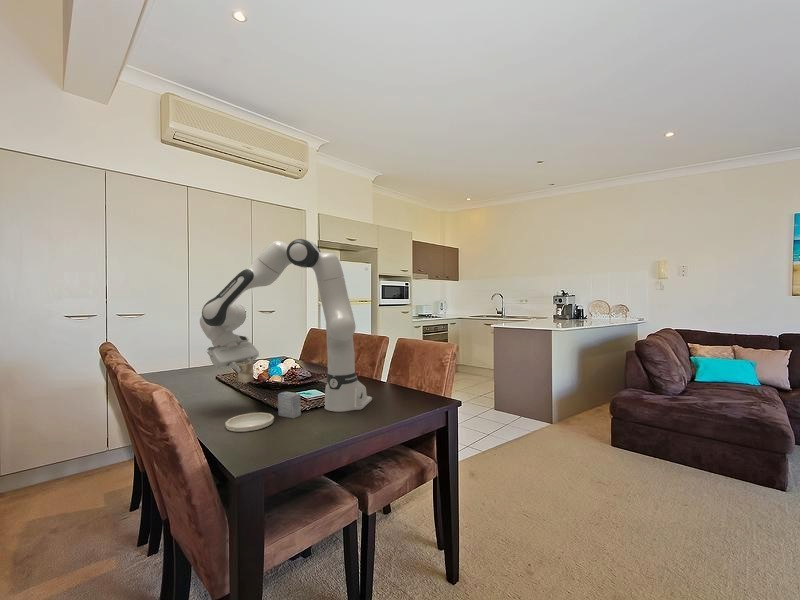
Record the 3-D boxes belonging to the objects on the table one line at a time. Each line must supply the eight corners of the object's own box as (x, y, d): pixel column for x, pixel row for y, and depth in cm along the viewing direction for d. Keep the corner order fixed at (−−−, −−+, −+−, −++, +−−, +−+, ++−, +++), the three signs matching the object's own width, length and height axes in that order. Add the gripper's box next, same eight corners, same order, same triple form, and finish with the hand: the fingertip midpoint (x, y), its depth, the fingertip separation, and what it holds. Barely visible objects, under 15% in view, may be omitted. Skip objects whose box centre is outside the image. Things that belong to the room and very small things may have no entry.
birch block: (246, 379, 154) (245, 362, 154) (253, 380, 153) (253, 363, 152) (238, 381, 151) (237, 364, 150) (245, 382, 149) (245, 364, 149)
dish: (250, 415, 150) (250, 410, 150) (282, 420, 143) (282, 415, 143) (215, 428, 135) (215, 424, 135) (249, 435, 129) (249, 430, 129)
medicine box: (301, 415, 148) (300, 393, 148) (292, 419, 144) (292, 396, 144) (286, 412, 152) (286, 391, 152) (277, 416, 148) (277, 393, 148)
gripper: (208, 342, 145) (228, 370, 141) (250, 336, 163) (268, 360, 160) (200, 353, 147) (219, 381, 143) (242, 346, 165) (260, 370, 162)
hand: (245, 370), depth 151 cm, fingers closed on birch block, 4 cm apart
